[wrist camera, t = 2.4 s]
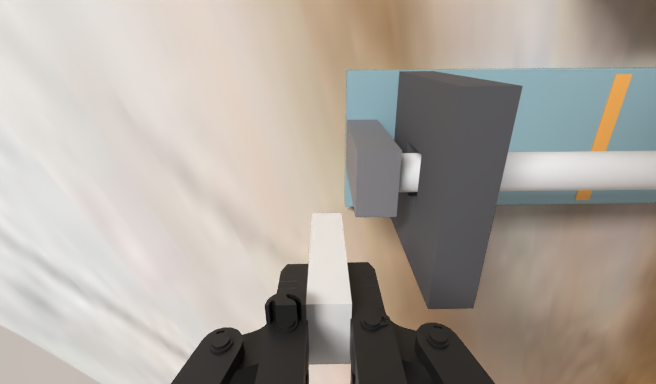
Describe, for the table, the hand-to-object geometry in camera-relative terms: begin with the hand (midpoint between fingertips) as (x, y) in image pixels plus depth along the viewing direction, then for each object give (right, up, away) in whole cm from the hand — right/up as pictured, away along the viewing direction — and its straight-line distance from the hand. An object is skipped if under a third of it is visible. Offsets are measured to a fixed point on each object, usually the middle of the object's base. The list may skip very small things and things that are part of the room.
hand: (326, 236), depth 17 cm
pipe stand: (+21, +8, +17) cm, 28 cm away
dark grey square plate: (+8, +7, +14) cm, 18 cm away
